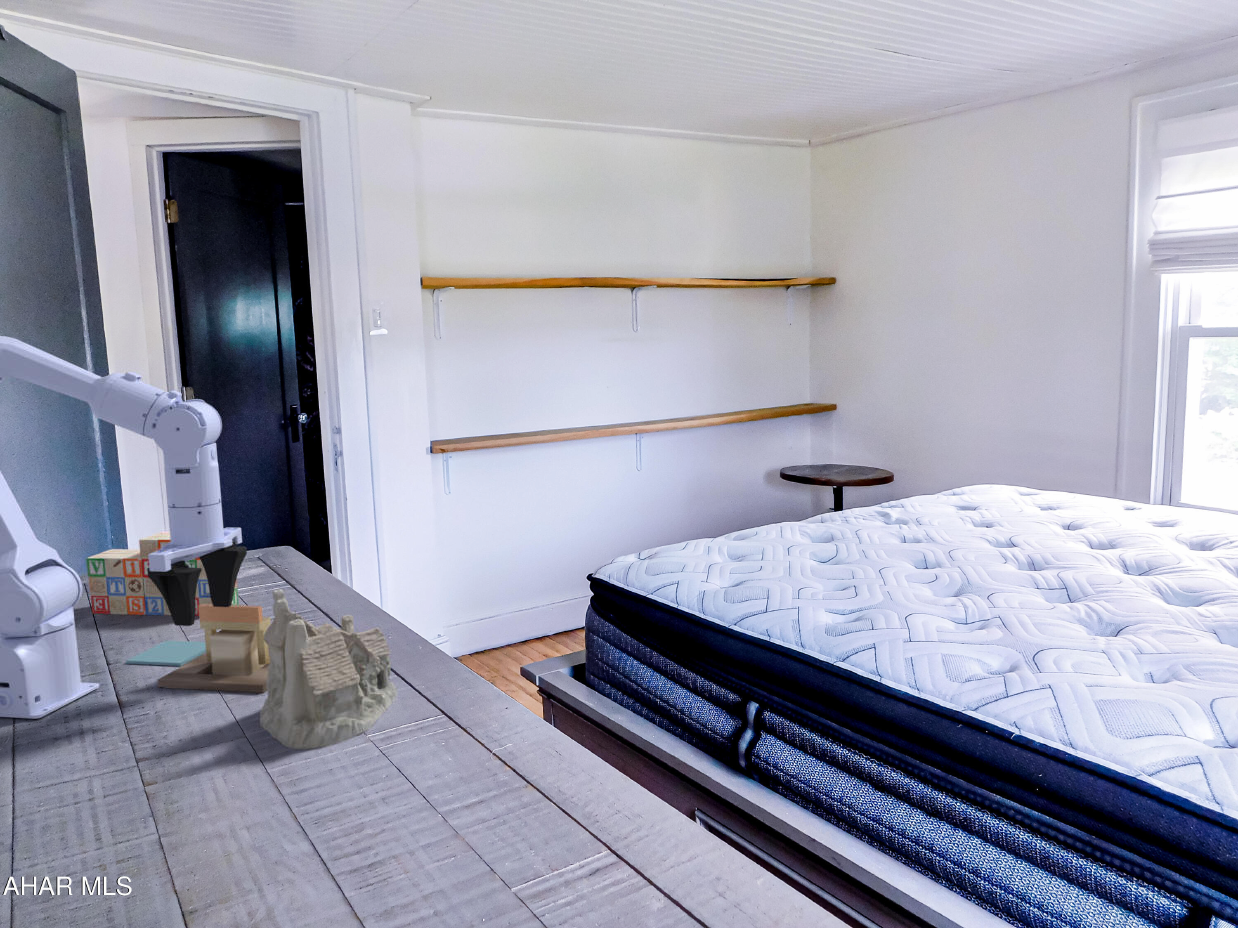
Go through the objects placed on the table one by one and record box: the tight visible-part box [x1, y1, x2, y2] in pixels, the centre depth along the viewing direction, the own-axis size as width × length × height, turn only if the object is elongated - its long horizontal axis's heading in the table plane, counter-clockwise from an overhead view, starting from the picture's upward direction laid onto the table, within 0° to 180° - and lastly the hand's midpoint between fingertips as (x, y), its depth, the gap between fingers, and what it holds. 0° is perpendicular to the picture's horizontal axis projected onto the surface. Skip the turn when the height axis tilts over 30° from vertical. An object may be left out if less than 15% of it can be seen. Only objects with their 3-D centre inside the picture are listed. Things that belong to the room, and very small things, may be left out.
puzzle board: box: [157, 652, 270, 694], centre depth 114 cm, size 19×14×1 cm
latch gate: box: [198, 604, 272, 665], centre depth 110 cm, size 2×8×8 cm, turn 81°
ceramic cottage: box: [259, 588, 399, 750], centre depth 98 cm, size 16×16×15 cm
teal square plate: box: [125, 640, 206, 667], centre depth 118 cm, size 8×8×1 cm
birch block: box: [210, 630, 265, 676], centre depth 111 cm, size 4×4×6 cm
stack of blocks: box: [85, 531, 239, 617], centre depth 138 cm, size 21×6×12 cm, turn 85°
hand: (204, 615), depth 104 cm, fingers open, 7 cm apart
